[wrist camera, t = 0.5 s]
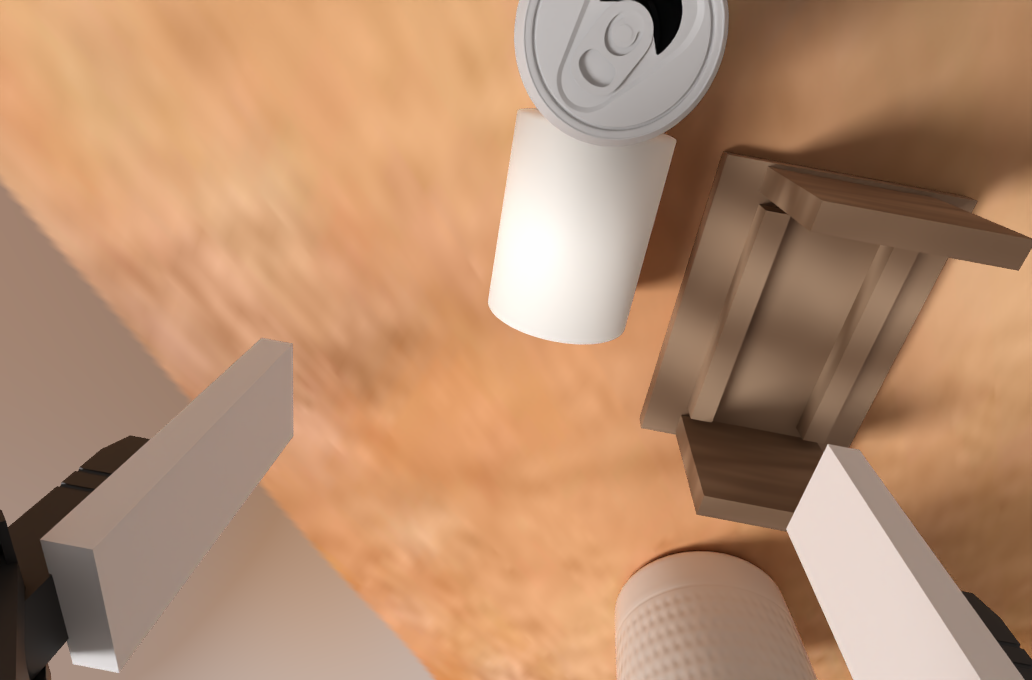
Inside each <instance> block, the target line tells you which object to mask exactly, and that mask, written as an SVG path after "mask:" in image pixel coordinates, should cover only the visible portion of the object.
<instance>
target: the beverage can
mask: <svg viewBox="0 0 1032 680" xmlns="http://www.w3.org/2000/svg"><path fill="white" fill-rule="evenodd" d="M728 21H729V11H728V3H727V0H519V4H518V8H517V13H516V19H515V29H514V43H515V54H516V61H517V65H518V70H519V73H520V76H521V79H522V82H523V84H524V87H525V89H526V91H527V93H528V95H529V97H530V98H531V100H532V102H533V103H534V105H535V106H536V108H537V109H538V110H539V111H540V113H541V114H542V115H543V116H544V117H545V118H546V119H547V120H548V121H549V122H550V123H551V124H552V125H554V126H555V127H556V128H558V129H559V130H560V131H562V132H563V133H565V134H567V135H569V136H571V137H573V138H575V139H577V140H579V141H582V142H586V143H589V144H594V145H599V146H612V147H615V146H627V145H633V144H637V143H641V142H644V141H647V140H650V139H652V138H654V137H657V136H659V135H660V134H662V133H664V132H666V131H667V130H669V129H671V128H672V127H674V126H675V125H676V124H678V123H679V122H680V121H681V120H683V119H684V118H685V117H686V116H687V115H688V114H689V113H690V112H691V111H692V110H693V109H694V108H695V107H696V106H697V104H698V103H699V102H700V101H701V99H702V98H703V97H704V95H705V94H706V92H707V91H708V89H709V87H710V85H711V84H712V82H713V80H714V78H715V76H716V74H717V72H718V69H719V67H720V64H721V61H722V58H723V55H724V51H725V46H726V41H727V36H728Z"/></svg>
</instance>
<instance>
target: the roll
mask: <svg viewBox="0 0 1032 680" xmlns="http://www.w3.org/2000/svg"><path fill="white" fill-rule="evenodd" d="M676 141H677V140H676V139H675V138H673V137H671V136H669V135H666V134H664V133H662V134H660V135H659V136H657V137H654V138H652V139H650V140H647V141H644V142H641V143H637V144H633V145H627V146H615V147H612V146H599V145H594V144H589V143H586V142H582V141H579V140H577V139H575V138H573V137H571V136H569V135H567V134H565V133H563V132H562V131H560V130H559V129H558V128H556V127H555V126H554V125H552V124H551V123H550V122H549V121H548V120H547V119H546V118H545V117H544V116H543V115H542V114H541V113H540V111H539V110H538V109H535V108H524V109H519V110H518V111H517V118H516V124H515V130H514V137H513V143H512V150H511V156H510V163H509V169H508V176H507V182H506V189H505V195H504V202H503V208H502V214H501V221H500V227H499V234H498V240H497V247H496V253H495V260H494V266H493V273H492V279H491V285H490V292H489V298H488V305H489V307H490V309H491V311H492V312H493V314H494V315H495V316H496V317H498V318H499V319H500V320H501V321H503V322H504V323H506V324H507V325H509V326H511V327H513V328H515V329H517V330H519V331H521V332H524V333H526V334H529V335H532V336H535V337H538V338H542V339H545V340H550V341H555V342H561V343H569V344H597V343H603V342H608V341H611V340H613V339H615V338H617V337H619V336H620V335H621V334H622V333H623V332H624V330H625V326H626V323H627V319H628V315H629V312H630V308H631V304H632V301H633V297H634V294H635V290H636V286H637V283H638V279H639V275H640V272H641V268H642V265H643V261H644V257H645V254H646V250H647V246H648V243H649V239H650V236H651V232H652V228H653V225H654V221H655V217H656V214H657V210H658V207H659V203H660V199H661V196H662V192H663V188H664V185H665V181H666V178H667V174H668V170H669V167H670V163H671V159H672V156H673V152H674V149H675V145H676Z"/></svg>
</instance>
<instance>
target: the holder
mask: <svg viewBox="0 0 1032 680" xmlns="http://www.w3.org/2000/svg"><path fill="white" fill-rule="evenodd" d="M976 203H977V200H974V199H971V198H969V197H966V196H962V195H956V194H951V193H945V192H940V191H935V190H929V189H924V188H918V187H913V186H908V185H902V184H897V183H891V182H886V181H881V180H875V179H870V178H864V177H859V176H854V175H848V174H843V173H837V172H832V171H827V170H821V169H816V168H810V167H805V166H800V165H794V164H789V163H783V162H778V161H773V160H767V159H762V158H756V157H751V156H746V155H740V154H735V153H729V152H724V151H723V153H722V156H721V160H720V163H719V166H718V169H717V172H716V176H715V179H714V182H713V185H712V188H711V192H710V195H709V198H708V201H707V204H706V208H705V211H704V214H703V217H702V220H701V224H700V227H699V230H698V233H697V236H696V240H695V243H694V246H693V249H692V252H691V256H690V259H689V262H688V265H687V268H686V272H685V275H684V278H683V281H682V284H681V288H680V291H679V294H678V297H677V300H676V304H675V307H674V310H673V313H672V316H671V320H670V323H669V326H668V329H667V332H666V336H665V339H664V342H663V345H662V348H661V352H660V355H659V358H658V361H657V364H656V368H655V371H654V374H653V377H652V380H651V383H650V387H649V390H648V393H647V396H646V399H645V403H644V406H643V409H642V412H641V415H640V424H641V428H644V429H649V430H655V431H660V432H665V433H671V434H676V437H677V441H678V445H679V448H680V452H681V456H682V460H683V464H684V468H685V472H686V475H687V479H688V483H689V487H690V491H691V495H692V499H693V502H694V506H695V510H696V514H697V515H702V516H707V517H713V518H718V519H723V520H729V521H734V522H739V523H744V524H750V525H755V526H760V527H765V528H771V529H776V530H781V531H787V530H786V528H787V526H788V524H789V522H790V520H791V518H792V516H793V514H794V512H795V510H796V508H797V506H798V504H799V502H800V500H801V498H802V496H803V494H804V492H805V490H806V487H807V485H808V483H809V481H810V479H811V477H812V475H813V473H814V471H815V469H816V467H817V465H818V463H819V461H820V459H821V457H822V455H823V453H824V451H825V449H826V447H827V445H828V444H831V445H836V446H841V447H847V448H849V447H850V445H851V443H852V441H853V439H854V437H855V435H856V433H857V431H858V429H859V427H860V425H861V424H862V422H863V420H864V418H865V416H866V414H867V412H868V410H869V408H870V406H871V404H872V402H873V401H874V399H875V397H876V395H877V393H878V391H879V389H880V387H881V385H882V383H883V381H884V379H885V378H886V376H887V374H888V372H889V370H890V368H891V366H892V364H893V362H894V360H895V358H896V356H897V355H898V353H899V351H900V349H901V347H902V345H903V343H904V341H905V339H906V337H907V335H908V333H909V332H910V330H911V328H912V326H913V324H914V322H915V320H916V318H917V316H918V314H919V312H920V310H921V309H922V307H923V305H924V303H925V301H926V299H927V297H928V295H929V293H930V291H931V289H932V287H933V286H934V284H935V282H936V280H937V278H938V276H939V274H940V272H941V270H942V268H943V266H944V265H945V263H946V261H947V259H948V258H954V259H959V260H964V261H970V262H975V263H981V264H986V265H991V266H997V267H1002V268H1007V269H1013V270H1018V271H1019V269H1020V267H1021V266H1022V264H1023V262H1024V261H1025V259H1026V257H1027V255H1028V254H1029V252H1030V250H1031V249H1032V238H1030V237H1027V236H1025V235H1022V234H1020V233H1018V232H1015V231H1013V230H1010V229H1008V228H1006V227H1003V226H1001V225H999V224H996V223H994V222H991V221H989V220H987V219H984V218H982V217H980V216H977V215H975V214H972V211H973V209H974V207H975V205H976Z"/></svg>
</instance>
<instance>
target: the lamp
mask: <svg viewBox="0 0 1032 680" xmlns="http://www.w3.org/2000/svg"><path fill="white" fill-rule="evenodd" d="M615 646H616V675H617V680H818V679H817V676H816V674H815V671H814V669H813V667H812V664H811V662H810V659H809V657H808V654H807V652H806V650H805V647H804V645H803V642H802V640H801V638H800V635H799V633H798V630H797V628H796V625H795V623H794V620H793V618H792V616H791V614H790V611H789V609H788V607H787V604H786V602H785V600H784V598H783V596H782V594H781V592H780V590H779V588H778V586H777V585H776V584H775V582H774V581H773V580H772V579H771V578H770V576H768V575H767V574H766V573H765V572H764V571H762V570H761V569H760V568H758V567H756V566H755V565H753V564H751V563H750V562H748V561H745V560H743V559H741V558H738V557H736V556H732V555H728V554H725V553H718V552H712V551H691V552H682V553H677V554H672V555H669V556H665V557H662V558H659V559H657V560H655V561H653V562H651V563H649V564H647V565H645V566H644V567H642V568H641V569H639V570H638V571H637V572H636V573H635V574H634V575H632V576H631V577H630V578H629V580H628V581H627V582H626V583H625V585H624V586H623V587H622V589H621V591H620V593H619V595H618V598H617V602H616V606H615Z"/></svg>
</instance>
